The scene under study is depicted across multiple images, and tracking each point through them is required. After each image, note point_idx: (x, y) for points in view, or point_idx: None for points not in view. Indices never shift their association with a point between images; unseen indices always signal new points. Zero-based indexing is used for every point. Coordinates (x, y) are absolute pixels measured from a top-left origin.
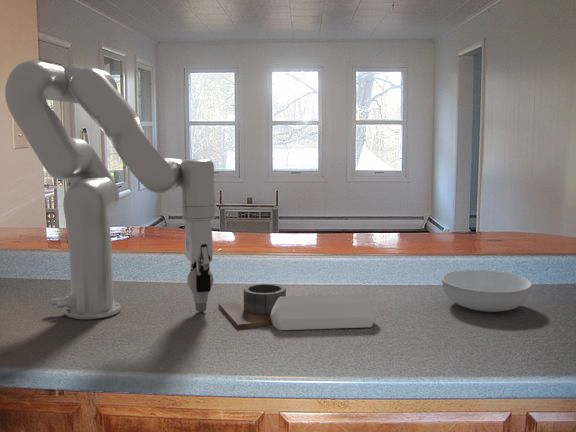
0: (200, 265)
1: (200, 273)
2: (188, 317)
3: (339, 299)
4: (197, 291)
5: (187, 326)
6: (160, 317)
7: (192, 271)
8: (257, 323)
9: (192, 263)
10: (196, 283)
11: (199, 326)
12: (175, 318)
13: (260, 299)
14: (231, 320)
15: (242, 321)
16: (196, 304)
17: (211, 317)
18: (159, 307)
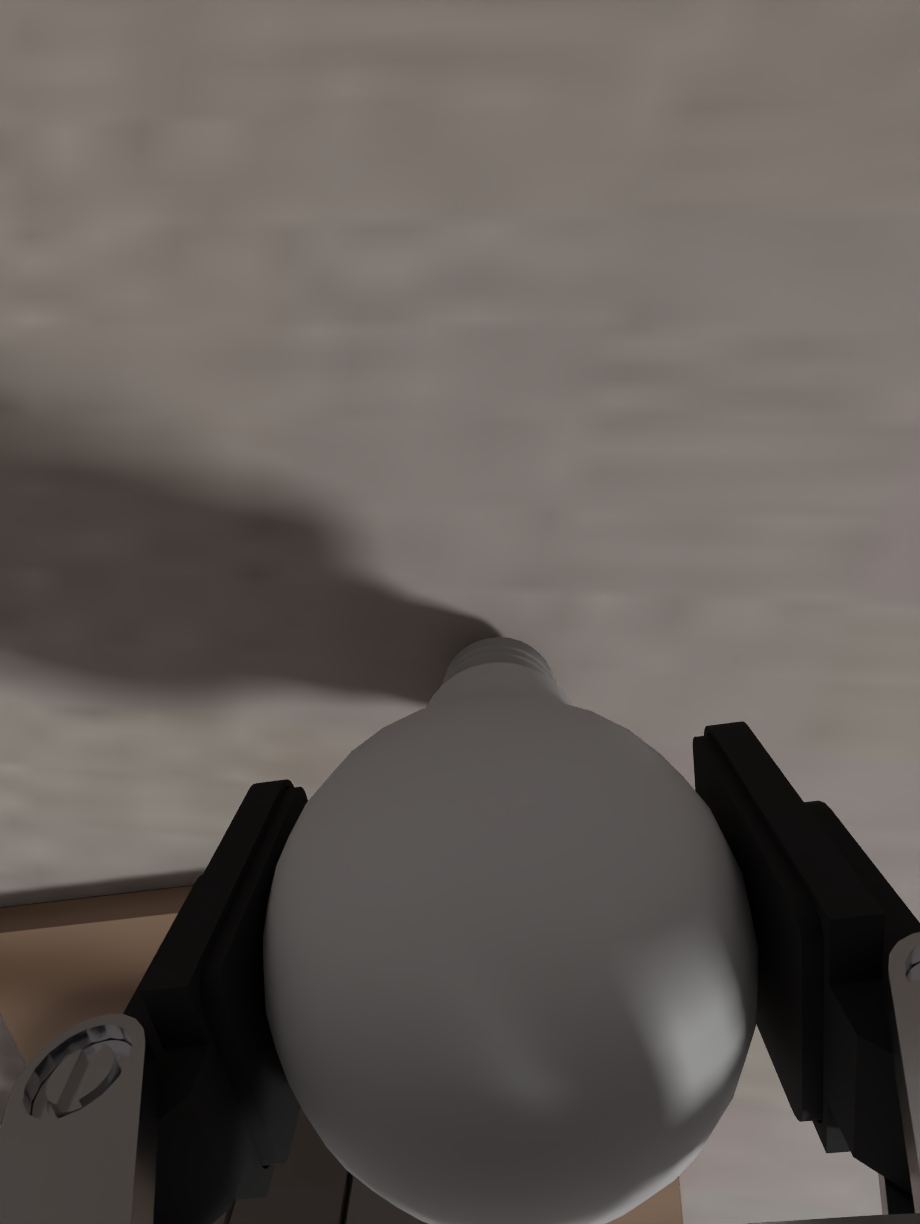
0: (879, 1173)
1: (35, 1115)
2: (354, 547)
3: None
4: (258, 789)
5: (57, 527)
6: (400, 226)
7: (423, 962)
8: (26, 1052)
9: (900, 1102)
10: (229, 861)
11: (58, 635)
12: (336, 409)
13: None
14: (176, 894)
15: (49, 974)
16: (459, 672)
17: (324, 751)
18: (840, 203)
